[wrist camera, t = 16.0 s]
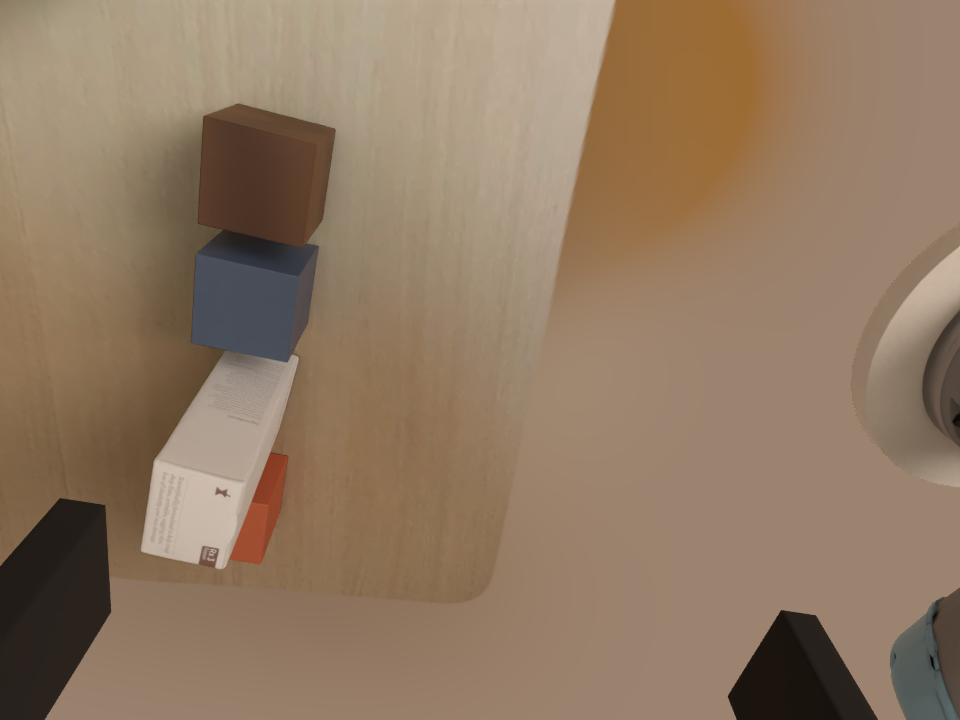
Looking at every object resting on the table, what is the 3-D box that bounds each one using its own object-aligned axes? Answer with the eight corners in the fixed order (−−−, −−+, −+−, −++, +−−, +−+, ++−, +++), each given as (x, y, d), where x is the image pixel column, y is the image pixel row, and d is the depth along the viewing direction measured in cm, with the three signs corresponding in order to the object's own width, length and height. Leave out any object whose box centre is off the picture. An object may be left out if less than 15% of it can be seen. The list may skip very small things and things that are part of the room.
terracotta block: (288, 455, 43) (268, 505, 38) (280, 511, 45) (260, 564, 40) (211, 441, 42) (182, 490, 37) (207, 499, 44) (179, 552, 40)
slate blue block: (318, 246, 36) (299, 277, 31) (307, 324, 38) (287, 363, 34) (228, 224, 35) (195, 253, 31) (222, 305, 37) (190, 343, 33)
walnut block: (336, 128, 33) (317, 144, 29) (322, 220, 35) (302, 248, 31) (237, 103, 32) (202, 115, 28) (230, 198, 34) (196, 223, 30)
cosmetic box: (231, 333, 38) (144, 453, 28) (305, 355, 39) (248, 480, 28) (214, 414, 41) (128, 553, 30) (284, 433, 42) (224, 574, 31)
